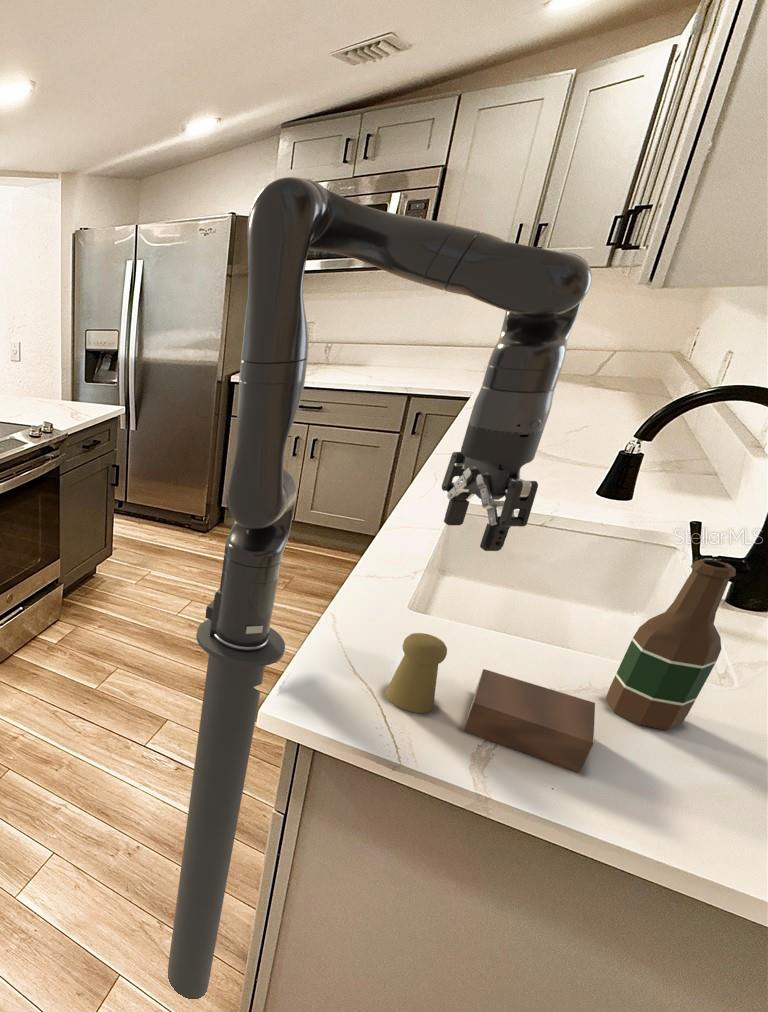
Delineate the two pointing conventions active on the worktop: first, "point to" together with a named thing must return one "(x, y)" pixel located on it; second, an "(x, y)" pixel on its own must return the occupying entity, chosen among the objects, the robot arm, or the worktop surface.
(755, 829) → the worktop surface
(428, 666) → the cork
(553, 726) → the walnut block
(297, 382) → the robot arm
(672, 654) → the beer bottle
